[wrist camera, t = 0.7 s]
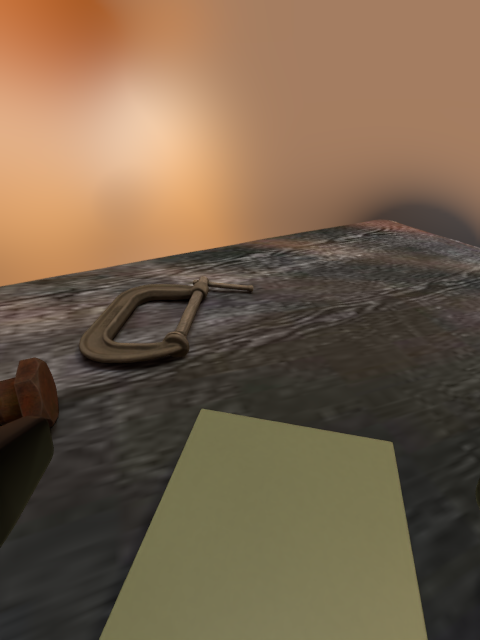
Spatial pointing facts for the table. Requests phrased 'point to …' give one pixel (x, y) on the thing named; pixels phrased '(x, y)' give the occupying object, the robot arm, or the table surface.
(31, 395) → the bolt
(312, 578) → the shelf
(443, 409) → the table surface
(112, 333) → the c clamp
